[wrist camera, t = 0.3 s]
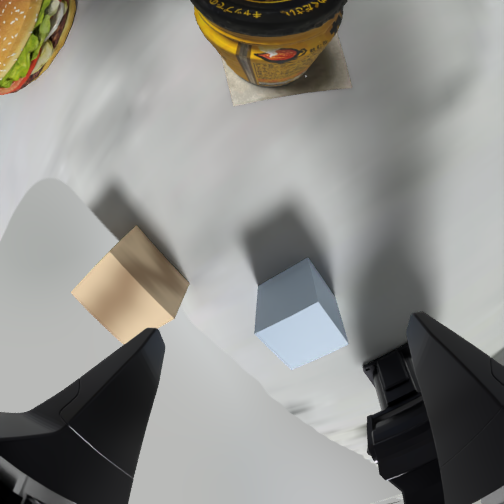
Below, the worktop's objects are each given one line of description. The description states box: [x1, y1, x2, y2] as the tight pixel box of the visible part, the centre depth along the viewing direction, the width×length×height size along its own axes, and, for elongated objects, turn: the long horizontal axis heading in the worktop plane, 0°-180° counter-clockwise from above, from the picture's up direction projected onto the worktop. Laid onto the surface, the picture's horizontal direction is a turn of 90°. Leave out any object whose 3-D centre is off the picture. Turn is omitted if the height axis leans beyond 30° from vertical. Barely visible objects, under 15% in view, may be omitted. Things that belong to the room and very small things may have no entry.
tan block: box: [71, 225, 190, 344], centre depth 22 cm, size 7×7×5 cm
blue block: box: [254, 257, 348, 370], centre depth 21 cm, size 5×5×6 cm
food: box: [0, 0, 76, 95], centre depth 9 cm, size 14×14×8 cm
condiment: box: [190, 0, 352, 106], centre depth 10 cm, size 7×8×12 cm
